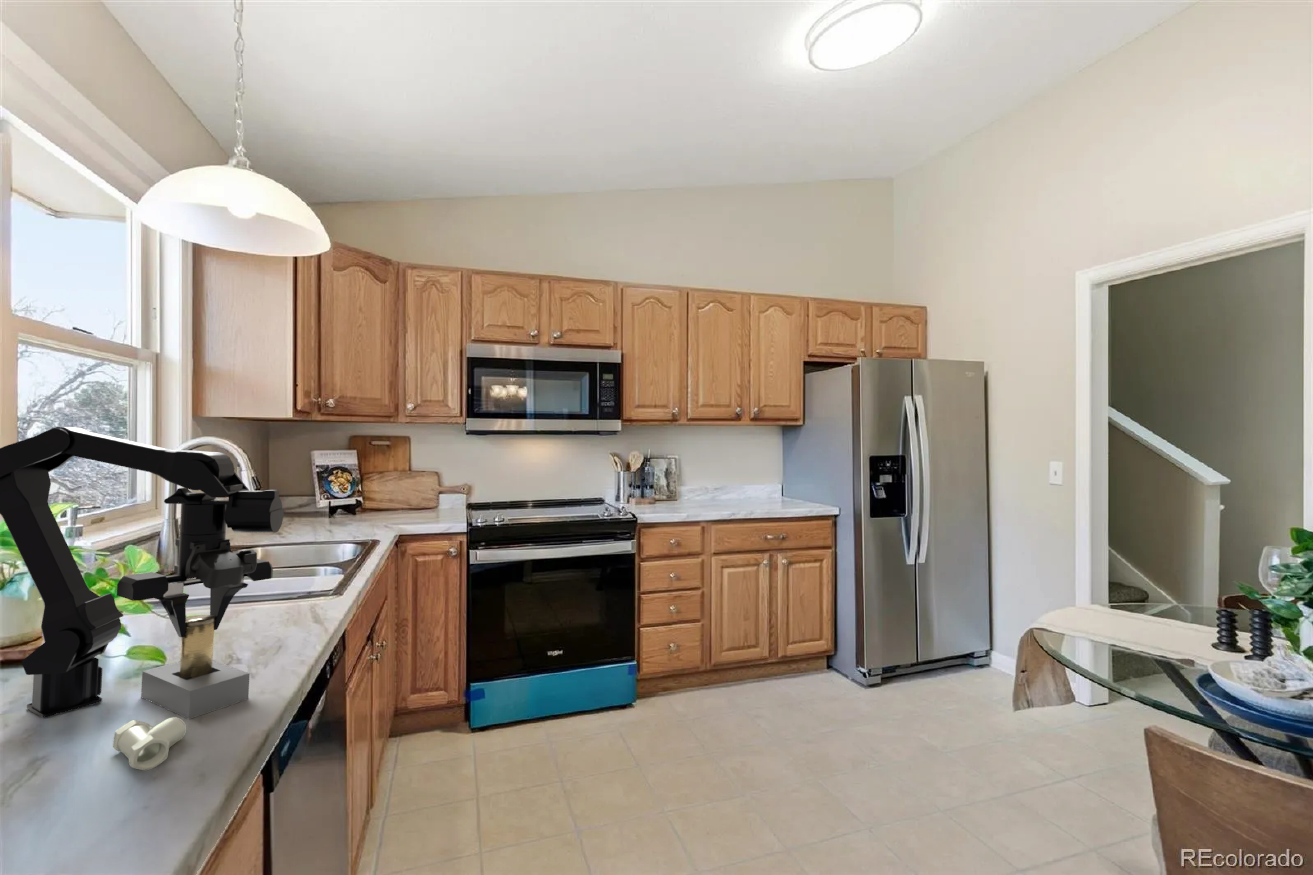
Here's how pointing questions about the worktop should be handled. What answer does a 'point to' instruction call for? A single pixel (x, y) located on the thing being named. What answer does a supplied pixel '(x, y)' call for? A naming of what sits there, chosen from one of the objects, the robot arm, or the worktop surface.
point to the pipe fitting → (148, 741)
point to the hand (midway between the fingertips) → (198, 633)
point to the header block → (195, 689)
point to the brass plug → (197, 646)
